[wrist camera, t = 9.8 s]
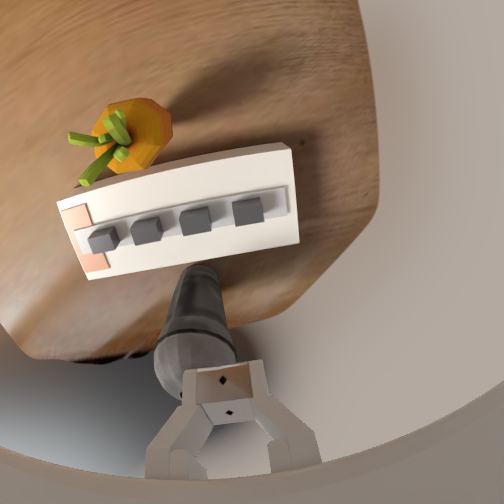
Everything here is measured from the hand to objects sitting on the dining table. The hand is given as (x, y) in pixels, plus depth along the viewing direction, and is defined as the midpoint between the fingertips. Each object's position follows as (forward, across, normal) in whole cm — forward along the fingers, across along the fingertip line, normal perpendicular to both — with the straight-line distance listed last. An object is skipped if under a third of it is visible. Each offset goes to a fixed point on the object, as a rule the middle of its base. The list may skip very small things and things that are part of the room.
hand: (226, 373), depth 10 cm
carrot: (+21, +4, -8) cm, 23 cm away
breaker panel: (+21, +4, +1) cm, 21 cm away
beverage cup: (+21, +4, +10) cm, 24 cm away
